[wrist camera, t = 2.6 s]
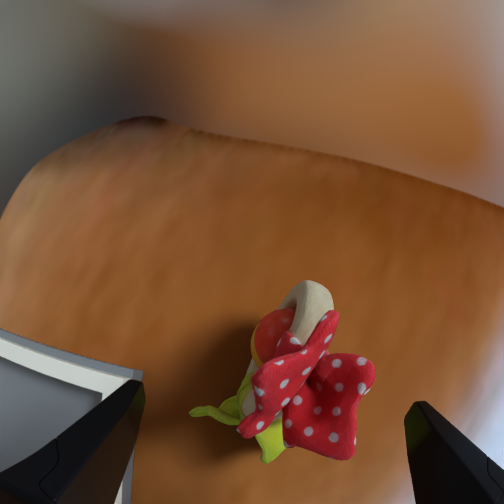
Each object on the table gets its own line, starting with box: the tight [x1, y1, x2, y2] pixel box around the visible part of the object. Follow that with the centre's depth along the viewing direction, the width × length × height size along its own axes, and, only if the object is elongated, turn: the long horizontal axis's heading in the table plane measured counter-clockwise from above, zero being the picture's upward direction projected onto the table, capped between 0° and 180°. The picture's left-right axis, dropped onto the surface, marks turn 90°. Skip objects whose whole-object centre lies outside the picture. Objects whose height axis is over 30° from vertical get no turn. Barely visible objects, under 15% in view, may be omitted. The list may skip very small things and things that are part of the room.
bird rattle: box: [189, 280, 376, 464], centre depth 13 cm, size 6×11×9 cm
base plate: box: [0, 329, 143, 504], centre depth 11 cm, size 22×12×4 cm, turn 174°
